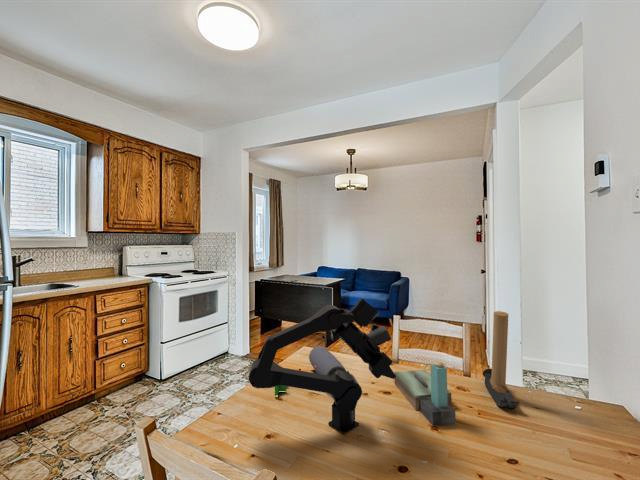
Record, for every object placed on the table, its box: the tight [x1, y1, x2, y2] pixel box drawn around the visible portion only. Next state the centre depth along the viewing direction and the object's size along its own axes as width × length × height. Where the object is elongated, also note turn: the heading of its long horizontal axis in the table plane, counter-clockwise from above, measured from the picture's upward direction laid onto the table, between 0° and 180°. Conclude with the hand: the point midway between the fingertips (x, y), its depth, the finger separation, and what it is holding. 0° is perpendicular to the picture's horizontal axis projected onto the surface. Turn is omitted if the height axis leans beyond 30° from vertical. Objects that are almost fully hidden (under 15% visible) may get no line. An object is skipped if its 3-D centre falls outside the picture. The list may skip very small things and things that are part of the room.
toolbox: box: [393, 369, 457, 427], centre depth 100 cm, size 12×27×6 cm, turn 7°
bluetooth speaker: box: [308, 345, 347, 376], centre depth 117 cm, size 23×9×10 cm, turn 17°
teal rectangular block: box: [430, 361, 448, 408], centre depth 91 cm, size 3×4×16 cm
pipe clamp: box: [274, 385, 287, 397], centre depth 110 cm, size 11×4×5 cm, turn 4°
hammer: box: [482, 310, 520, 409], centre depth 100 cm, size 20×5×30 cm, turn 166°
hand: (392, 374), depth 90 cm, fingers open, 4 cm apart
